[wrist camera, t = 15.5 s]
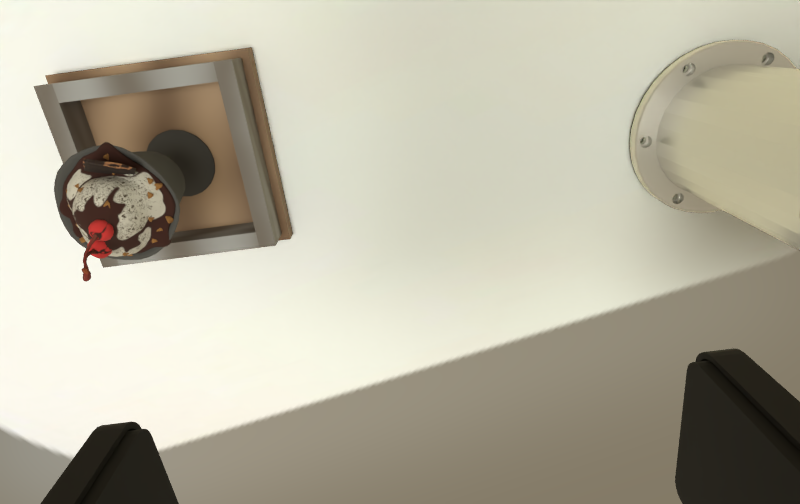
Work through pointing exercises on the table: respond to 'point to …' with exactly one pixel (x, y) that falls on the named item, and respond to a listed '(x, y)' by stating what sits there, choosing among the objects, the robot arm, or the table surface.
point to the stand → (192, 112)
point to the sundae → (130, 194)
